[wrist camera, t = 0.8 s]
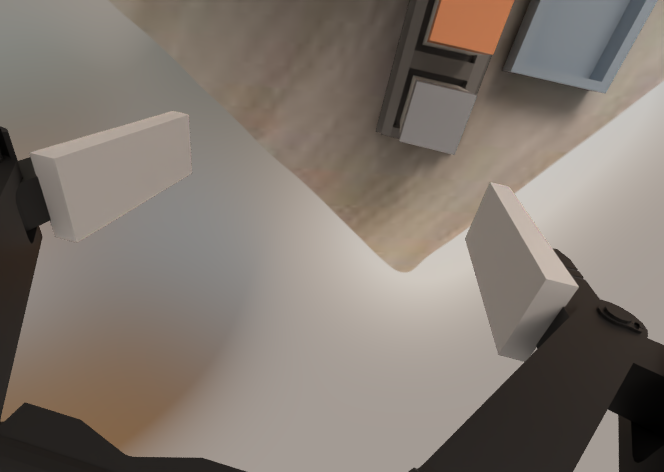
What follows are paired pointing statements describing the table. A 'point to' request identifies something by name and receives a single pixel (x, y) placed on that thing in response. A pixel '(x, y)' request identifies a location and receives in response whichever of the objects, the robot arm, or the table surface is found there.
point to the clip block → (424, 67)
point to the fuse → (435, 114)
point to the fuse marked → (467, 25)
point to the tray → (577, 40)
